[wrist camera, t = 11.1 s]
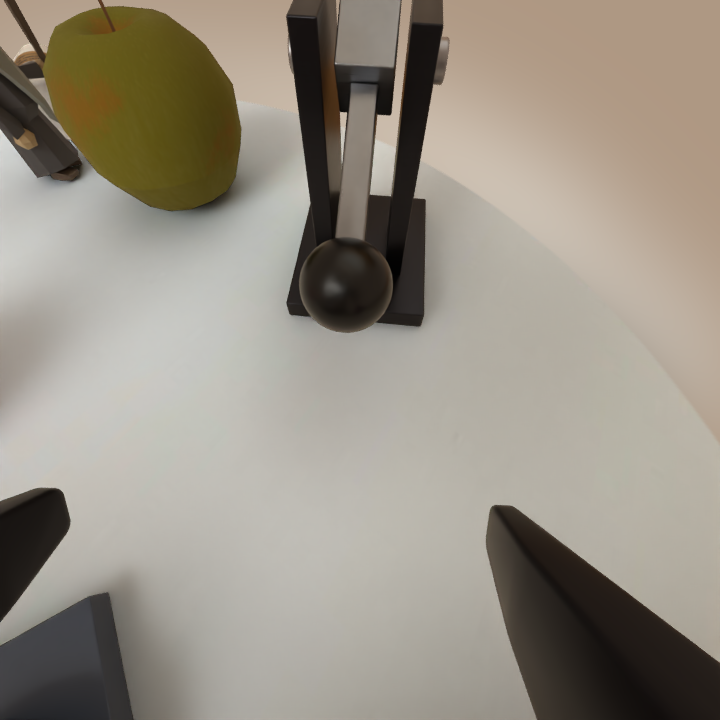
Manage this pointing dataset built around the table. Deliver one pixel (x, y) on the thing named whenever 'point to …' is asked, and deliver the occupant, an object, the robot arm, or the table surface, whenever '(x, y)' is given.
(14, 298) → the table surface
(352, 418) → the table surface
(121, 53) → the apple
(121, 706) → the control block
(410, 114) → the bracket
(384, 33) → the lever
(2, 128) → the wizard figurine
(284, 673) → the table surface
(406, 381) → the table surface
